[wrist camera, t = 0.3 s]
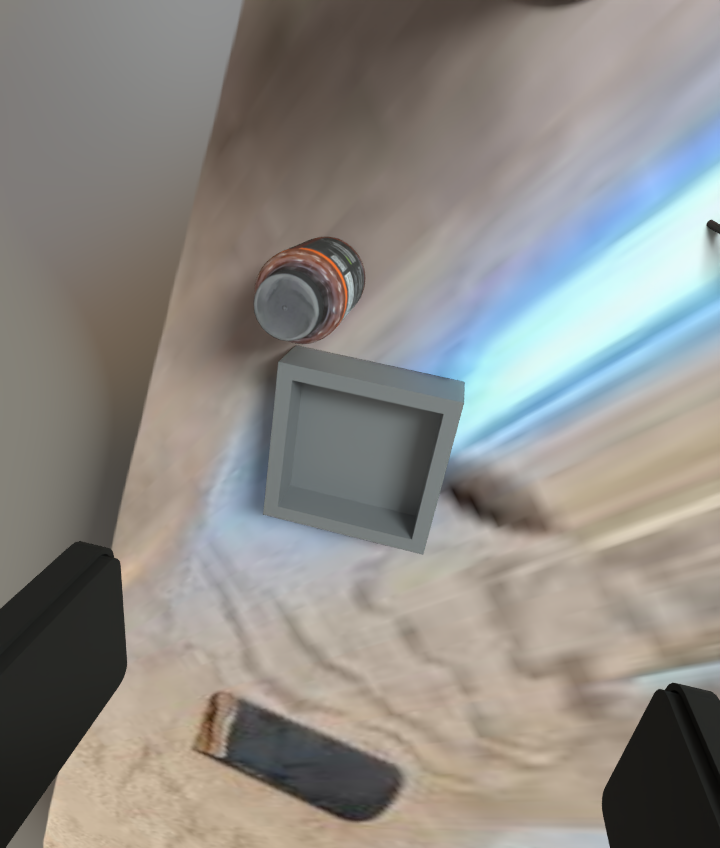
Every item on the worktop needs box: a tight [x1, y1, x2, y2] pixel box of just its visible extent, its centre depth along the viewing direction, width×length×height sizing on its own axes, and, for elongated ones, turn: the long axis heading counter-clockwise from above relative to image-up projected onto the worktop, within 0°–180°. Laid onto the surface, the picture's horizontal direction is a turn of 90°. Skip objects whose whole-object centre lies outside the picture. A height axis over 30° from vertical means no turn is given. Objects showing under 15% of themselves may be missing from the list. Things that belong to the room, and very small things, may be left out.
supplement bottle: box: [254, 237, 365, 344], centre depth 36 cm, size 6×6×11 cm
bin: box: [263, 345, 465, 554], centre depth 44 cm, size 14×14×4 cm
